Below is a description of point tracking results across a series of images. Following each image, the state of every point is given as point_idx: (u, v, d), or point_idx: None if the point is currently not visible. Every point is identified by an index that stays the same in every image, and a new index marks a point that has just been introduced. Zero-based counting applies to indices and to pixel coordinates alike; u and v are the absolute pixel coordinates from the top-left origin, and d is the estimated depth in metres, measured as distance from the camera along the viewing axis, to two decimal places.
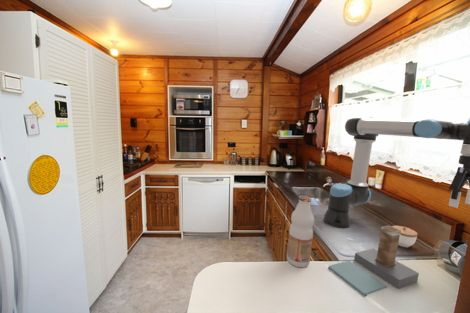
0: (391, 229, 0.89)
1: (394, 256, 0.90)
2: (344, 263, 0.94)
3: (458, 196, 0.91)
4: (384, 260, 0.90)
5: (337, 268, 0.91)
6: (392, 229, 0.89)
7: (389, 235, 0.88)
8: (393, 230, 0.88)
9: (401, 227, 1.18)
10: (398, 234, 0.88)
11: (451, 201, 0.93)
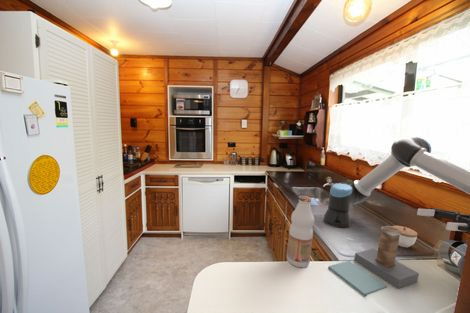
0: (391, 229, 0.89)
1: (394, 256, 0.90)
2: (344, 263, 0.94)
3: None
4: (384, 260, 0.90)
5: (337, 268, 0.91)
6: (392, 229, 0.89)
7: (389, 235, 0.88)
8: (393, 230, 0.88)
9: (401, 227, 1.18)
10: (398, 234, 0.88)
11: (454, 224, 0.81)
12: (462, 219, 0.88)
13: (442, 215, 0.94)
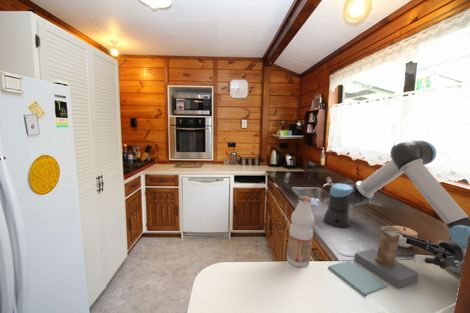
0: (391, 229, 0.89)
1: (394, 256, 0.90)
2: (344, 263, 0.94)
3: (428, 262, 0.83)
4: (384, 260, 0.90)
5: (337, 268, 0.91)
6: (392, 229, 0.89)
7: (389, 235, 0.88)
8: (393, 230, 0.88)
9: (401, 227, 1.18)
10: (398, 234, 0.88)
11: (421, 257, 0.83)
12: (431, 249, 0.90)
13: (413, 243, 0.96)
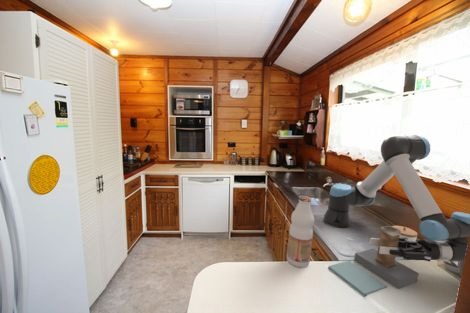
0: (391, 229, 0.89)
1: (394, 256, 0.90)
2: (344, 263, 0.94)
3: None
4: (384, 260, 0.90)
5: (337, 268, 0.91)
6: (392, 229, 0.89)
7: (389, 234, 0.88)
8: (393, 230, 0.88)
9: (401, 227, 1.18)
10: (398, 234, 0.88)
11: (386, 249, 0.87)
12: (409, 246, 0.91)
13: None
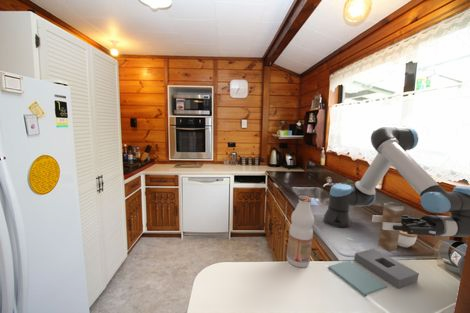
0: (394, 204, 0.87)
1: (398, 233, 0.87)
2: (344, 263, 0.94)
3: None
4: (388, 237, 0.87)
5: (337, 268, 0.91)
6: (395, 205, 0.87)
7: (392, 210, 0.86)
8: (396, 205, 0.86)
9: None
10: (401, 209, 0.86)
11: (389, 224, 0.84)
12: (413, 222, 0.88)
13: None
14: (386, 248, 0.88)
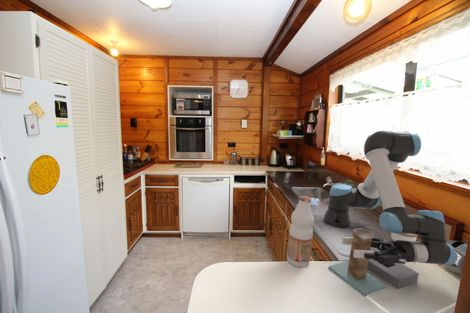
0: (363, 232, 0.84)
1: (367, 261, 0.85)
2: (344, 263, 0.94)
3: None
4: (356, 265, 0.85)
5: (337, 268, 0.91)
6: (364, 232, 0.84)
7: (360, 238, 0.83)
8: (365, 233, 0.83)
9: None
10: (370, 237, 0.83)
11: (360, 252, 0.80)
12: (383, 248, 0.85)
13: None
14: (354, 276, 0.85)
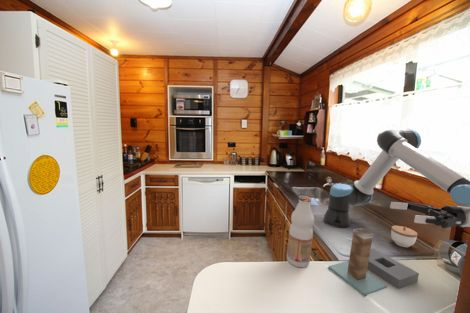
0: (363, 232, 0.84)
1: (367, 261, 0.85)
2: (344, 263, 0.94)
3: None
4: (356, 265, 0.85)
5: (337, 268, 0.91)
6: (364, 232, 0.84)
7: (360, 238, 0.83)
8: (365, 233, 0.83)
9: (401, 227, 1.18)
10: (370, 237, 0.83)
11: (422, 217, 0.81)
12: (433, 212, 0.88)
13: (415, 208, 0.93)
14: (354, 276, 0.85)
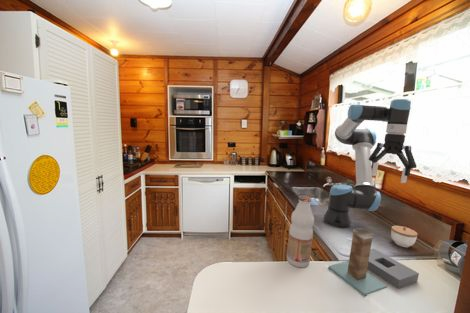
0: (363, 232, 0.84)
1: (367, 261, 0.85)
2: (344, 263, 0.94)
3: None
4: (356, 265, 0.85)
5: (337, 268, 0.91)
6: (364, 232, 0.84)
7: (360, 238, 0.83)
8: (365, 233, 0.83)
9: (401, 227, 1.18)
10: (370, 237, 0.83)
11: None
12: None
13: None
14: (354, 276, 0.85)
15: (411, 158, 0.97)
